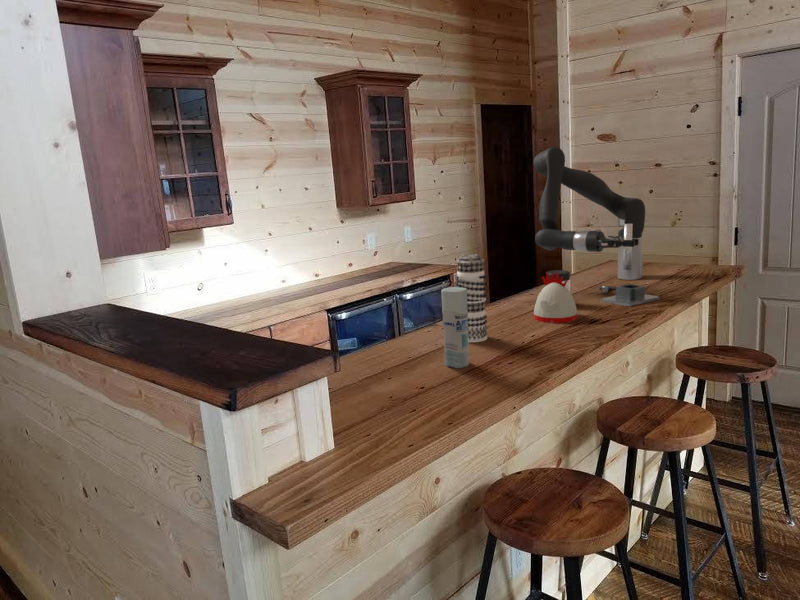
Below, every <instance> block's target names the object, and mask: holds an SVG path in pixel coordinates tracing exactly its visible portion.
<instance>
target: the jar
mask: <svg viewBox="0 0 800 600" xmlns="http://www.w3.org/2000/svg"><path fill="white" fill-rule="evenodd" d="M546 273H548V275H549V278H550V279H551V275H552V273H554V278H556V274H557V273H558V275H559V280H560V278H561V277H562V276H563V279H562V283H563V284H564V283H565V281H566V280H567V283H566V285H565V287H566V288H567V289H568V290H569V291H570V292H571V272H570V270H569V271H568V270H562V269H558V270H557V269H556V270H555V269H554V270H548V271H546V272H545V274H546Z"/></svg>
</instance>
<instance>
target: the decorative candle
mask: <svg viewBox="0 0 800 600" xmlns="http://www.w3.org/2000/svg"><path fill="white" fill-rule="evenodd" d="M484 261H485V259H483V258H482V256H481V255H480V254H475V253H471V254H463V255H461V256H459V258H458V259H457V260H456V263H457V271H456V273H457V274H456V276H455V278H454V279H455V281H456V282H455V287H463V288H466V289H467V312H468V343H479V342H480V343H481V342H486V340H487V339H488V331H487V330H488V326H487V325H486V324H487V323H488V321H487V320H486V319H487V317H488V316H487V315H486V304H485V302H487V301H486V300H487V294H486V293H485V291H487V290H488V288H487V287H486V285H487V284H488V283H487V281H485V279H487V278H488V276H487V275H486V274H485V267H484V266H485V265H484Z"/></svg>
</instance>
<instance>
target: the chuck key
mask: <svg viewBox="0 0 800 600" xmlns="http://www.w3.org/2000/svg"><path fill="white" fill-rule="evenodd" d="M616 287H617V285H599V290H602V291H601V292H602V294H603V295H607V294H608V293H609V291H610V290H613V291H616Z"/></svg>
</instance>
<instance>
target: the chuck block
mask: <svg viewBox="0 0 800 600" xmlns="http://www.w3.org/2000/svg"><path fill="white" fill-rule="evenodd" d="M600 300H601V302H602V303H608V304H612V305H618V306H624V307H627V306H628V307H633V305H634V306H638V305H641V304H646V303H651V302H655V301H660V296H657V295H651V294H646V286H645V285H640V284H634V283H628V284H620V285H616V290H615V295H612V296H608V297H602V298H601V299H600Z"/></svg>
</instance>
